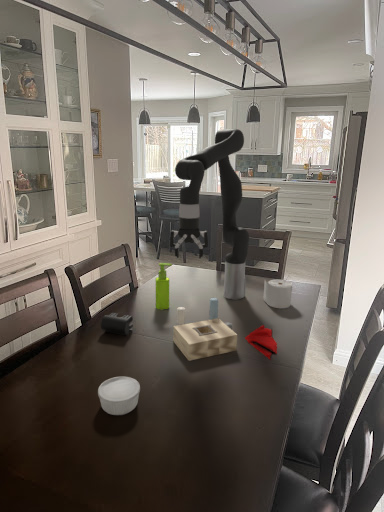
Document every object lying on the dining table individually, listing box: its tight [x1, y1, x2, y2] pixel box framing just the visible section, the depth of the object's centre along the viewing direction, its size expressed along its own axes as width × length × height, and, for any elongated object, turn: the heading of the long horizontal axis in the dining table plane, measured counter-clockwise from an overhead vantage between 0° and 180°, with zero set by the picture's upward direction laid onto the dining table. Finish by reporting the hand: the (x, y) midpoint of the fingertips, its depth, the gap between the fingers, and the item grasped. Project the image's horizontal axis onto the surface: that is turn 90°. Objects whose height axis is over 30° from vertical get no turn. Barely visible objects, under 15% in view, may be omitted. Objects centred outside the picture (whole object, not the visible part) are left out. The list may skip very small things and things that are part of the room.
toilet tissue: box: [263, 278, 293, 309], centre depth 171 cm, size 11×12×10 cm
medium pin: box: [176, 306, 186, 326], centre depth 148 cm, size 3×3×8 cm
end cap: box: [100, 312, 134, 336], centre depth 142 cm, size 10×7×7 cm
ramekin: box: [97, 376, 141, 416], centre depth 103 cm, size 11×11×5 cm
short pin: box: [223, 321, 233, 330], centre depth 141 cm, size 3×3×5 cm
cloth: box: [244, 324, 278, 361], centre depth 139 cm, size 26×14×2 cm, turn 163°
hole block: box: [172, 317, 238, 362], centre depth 134 cm, size 18×14×6 cm
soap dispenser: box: [155, 262, 173, 311], centre depth 164 cm, size 6×7×20 cm
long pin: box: [208, 297, 219, 320], centre depth 146 cm, size 3×3×12 cm
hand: (188, 257), depth 145 cm, fingers open, 8 cm apart
